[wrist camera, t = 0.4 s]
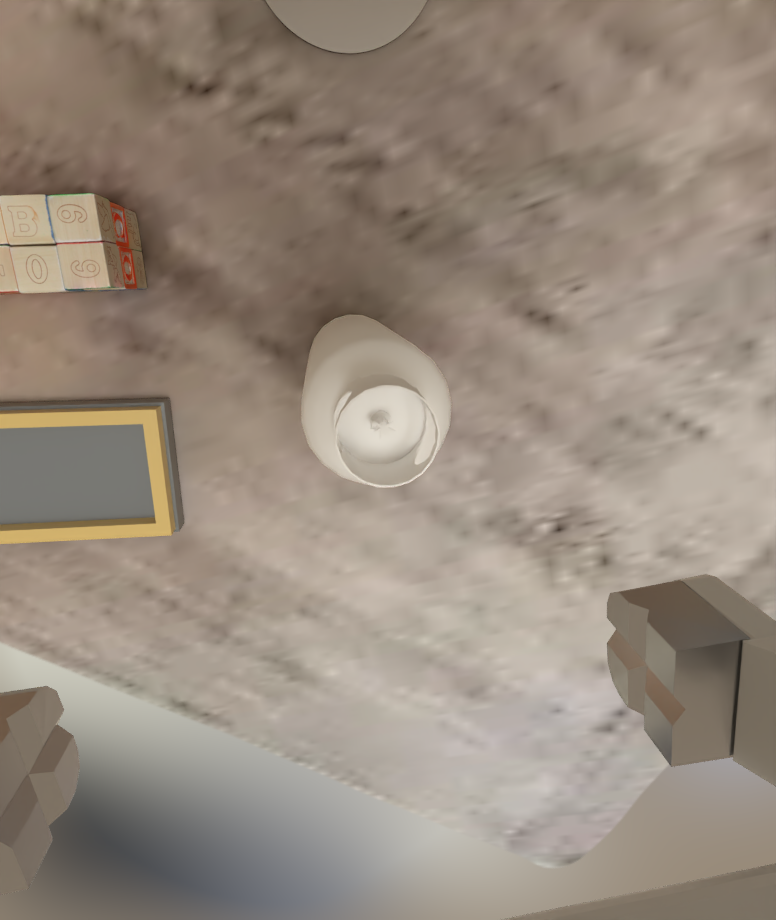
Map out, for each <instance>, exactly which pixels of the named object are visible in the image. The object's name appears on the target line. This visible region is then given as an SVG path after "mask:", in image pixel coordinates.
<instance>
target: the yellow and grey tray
mask: <svg viewBox="0 0 776 920" xmlns="http://www.w3.org/2000/svg"><path fill="white" fill-rule="evenodd" d="M183 524H184V516H183V508H182V499H181V491H180V482H179V474H178V465H177V457H176V448H175V440H174V431H173V423H172V414H171V406H170V398H156V399H118V400H81V401H44V402H7V403H0V544H9V543H29V542H49V541H69V540H89V539H108V538H128V537H148V536H168V535H172V534H173V532H178V531H180V529H181V528H182V526H183Z"/></svg>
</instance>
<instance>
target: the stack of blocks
mask: <svg viewBox="0 0 776 920" xmlns="http://www.w3.org/2000/svg"><path fill="white" fill-rule="evenodd" d="M136 289H147V283H146V276H145V269H144V263H143V256H142V247H141V240H140V234H139V228H138V222H137V217H136V213H135V212H133V211H131V210H128V209H125V208H123V207H122V206H120V205H117V204H115V203H112V202H109V200H108V199H106V198H104V197H102V196H99V195H97V194H94V193H82V194H56V195H45V194H35V195H7V196H0V294H18V293H54V292H60V293H72V292H103V291H111V290H136Z"/></svg>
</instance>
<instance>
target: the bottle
mask: <svg viewBox="0 0 776 920" xmlns="http://www.w3.org/2000/svg"><path fill="white" fill-rule="evenodd" d="M451 406H452V402H451V398H450V394H449V390H448V386H447V382H446V379H445V378H444V376H443V375H442V373H441V371H440V370H439V368H438V367H437V365H436V364H435V362H434V360H432V359H431V358H430V357H429V356H427V355H426V354H425V353H424V352H423V351H421V350H420V349H419V348H418V347H416V346H415V345H414V344H412V343H410V342H409V341H407V340H406V339H404V338H403V337H401V336H400V335H398V334H397V333H395V332H393V331H392V330H390V329H389V328H387V327H386V326H384V325H383V324H381V323H380V322H378V321H376V320H374V319H372V318H369V317H366V316H364V315H345V316H341V317H338V318H335V319H333V320H332V321H330V322H329V323H327V324H326V325H324V326H323V327H322V328H321V330H320V331H319V332H318V334H317V335H316V336H315V338H314V340H313V343H312V346H311V349H310V352H309V358H308V364H307V369H306V375H305V381H304V387H303V392H302V398H301V424H302V427H303V430H304V433H305V436H306V439H307V442H308V445H309V447H310V448H311V449H312V451H313V452H314V453H315V455H316V456H317V457H318V459H319V460H320V461H321V463H322V464H323V465H324V466H326V467H327V468H329V469H330V470H332V471H333V472H334V473H336V474H337V475H339V476H340V477H342V478H345V479H348V480H352V481H355V482H358V483H361V484H369V485H372V486H376V487H396V486H400V485H403V484H406V483H409V482H411V481H412V480H414V479H415V478H417V477H418V476H420V475H421V474H423V473H424V471H425V470H426V469H427V468H428V467H429V465H430V464H431V463H432V462H433V460H434V457H435V455H436V453H437V452H438V451H439V449H440V448H441V447H442V445H443V442H444V440H445V437H446V435H447V432H448V430H449V427H450V420H451Z"/></svg>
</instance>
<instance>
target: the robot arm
mask: <svg viewBox="0 0 776 920" xmlns="http://www.w3.org/2000/svg"><path fill="white" fill-rule="evenodd" d="M265 1H266V2H267V4H268V5H269V7H270V8H271V10H272V11H273V12H274V13H275V15H276V16H277V17H278V18H279V19H280V20H281V22H282V23H283V24H284V25H285V26H286V27H287V28H289V29H290V30H291V31H292V32H293V33H295V34H296V35H297V36H299V37H300V38H302V39H303V40H305V41H307V42H309V43H310V44H312V45H315V46H317V47H319V48H322V49H325V50H329V51H333V52H339V53H360V52H366V51H370V50H374V49H376V48H379V47H381V46H384V45H386V44H387V43H389V42H391V41H393V40H394V39H396V38H397V37H398V36H400V35H401V34H402V33H403V32H404V31H405V30H406V29H407V28H408V27H409V26H410V25H411V24H412V23H413V22H414V21H415V19H416V18H417V17H418V15H419V14H420V12H421V11H422V9H423V7H424V6H425V4H426V2H427V0H265ZM607 618H608V620H609V621H610V622H611V623H612V624H613V626H614V627H615V628H616V631H615V632H614V634H613V635H612V637H611V638H610V640H609V641H608V643H607V655H608V665H609V669H610V673H611V677H612V680H613V683H614V685H615V687H616V689H617V691H618V693H619V695H620V696H621V698H622V699H623V701H624V702H625V704H626V705H627V707H629V708H631V709H633V710H635V711H637V712H639V713H641V714H643V715H644V730H645V732H646V733H647V734H648V736H649V737H650V738H651V740H652V741H653V743H654V744H655V745H656V747H657V748H658V749H659V751H660V752H661V753H662V755H663V756H664V758H665V759H666V760H667V762H668V763H669V764H670V766H671V767H673V766H680V765H686V764H692V763H698V762H705V761H710V760H717V759H724V758H730V757H733V760H734V761H735V762H737V763H738V764H740V765H742V766H743V767H745V768H746V769H748V770H750V771H751V772H753V773H755V774H756V775H758V776H760V777H761V778H763V779H764V780H766V781H768V782H769V783H771V784H773V785H774V786H776V621H775V620H773V619H772V618H771V617H769V616H768V615H767V614H765V613H764V612H762V611H761V610H760V609H758V608H757V607H756V606H754V605H753V604H752V603H750V602H749V601H748V600H746V599H745V598H744V597H742V596H741V595H740V594H738V593H737V592H736V591H734V590H733V589H731V588H730V587H729V586H727V585H726V584H725V583H723V582H722V581H721V580H719V579H718V578H717V577H715V576H711V575H707V574H704V575H699V576H694V577H689V578H685V579H680V580H675V581H672V582H667V583H662V584H656V585H651V586H646V587H640V588H635V589H630V590H624V591H619V592H614V593H610V595H609V599H608V602H607ZM63 711H64V708H63V706H62V703H61V701H60V698H59V696H58V693H57V691H56V690H54V689H52V688H50V687H48V686H44V687H37V688H31V689H24V690H17V691H10V692H4V693H0V895H3V894H8V893H12V892H17V891H21V890H26V889H29V888H30V885H31V883H32V881H33V879H34V877H35V875H36V873H37V871H38V869H39V867H40V865H41V863H42V861H43V858H44V856H45V854H46V852H47V850H48V848H49V846H50V844H51V842H52V840H53V838H52V835H51V832H50V830H49V827H48V826H49V825H50V824H51V823H52V822H53V821H54V820H55V819H57V818H58V817H59V816H60V815H61V814H62V813H63V812H64V811H66V810H67V808H68V806H69V804H70V802H71V800H72V798H73V795H74V793H75V791H76V787H77V781H78V775H79V769H80V765H79V755H78V748H77V746H76V742H75V740H74V736H73V735H72V734H70V733H69V732H67V731H66V730H65V729H63V728H62V727H60V726H59V725H57V724H58V722H59V720H60V718H61V715H62V714H63ZM501 920H776V864H771V865H766V866H761V867H756V868H751V869H746V870H742V871H736V872H732V873H727V874H722V875H717V876H712V877H707V878H702V879H697V880H693V881H688V882H683V883H678V884H673V885H668V886H663V887H658V888H653V889H649V890H643V891H639V892H634V893H629V894H624V895H619V896H614V897H609V898H604V899H600V900H594V901H590V902H585V903H580V904H575V905H570V906H565V907H560V908H555V909H550V910H545V911H541V912H536V913H531V914H526V915H522V916H516V917H511V918H507V919H501Z"/></svg>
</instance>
